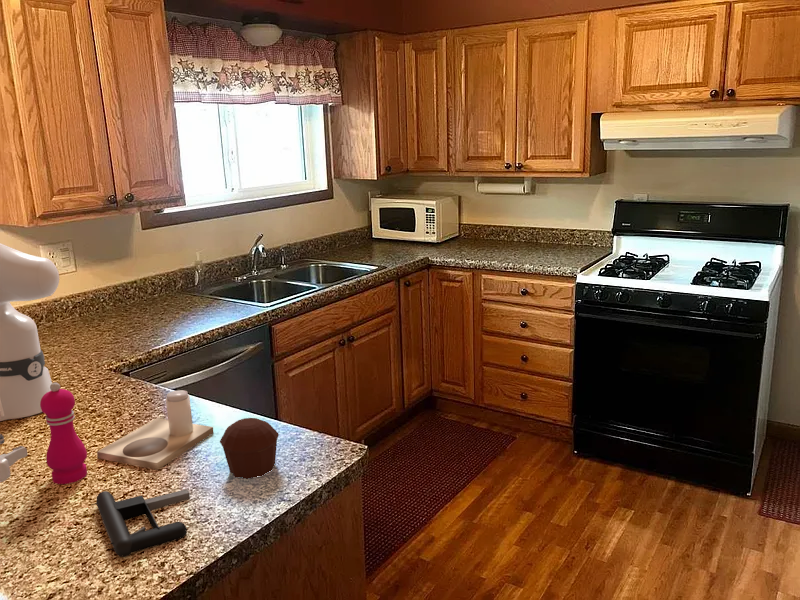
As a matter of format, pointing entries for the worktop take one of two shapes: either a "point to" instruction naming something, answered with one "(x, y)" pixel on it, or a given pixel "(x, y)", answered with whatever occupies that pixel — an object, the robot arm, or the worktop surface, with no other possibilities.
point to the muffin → (250, 447)
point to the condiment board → (153, 445)
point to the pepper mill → (63, 437)
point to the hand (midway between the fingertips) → (13, 443)
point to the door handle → (135, 507)
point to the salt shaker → (179, 413)
